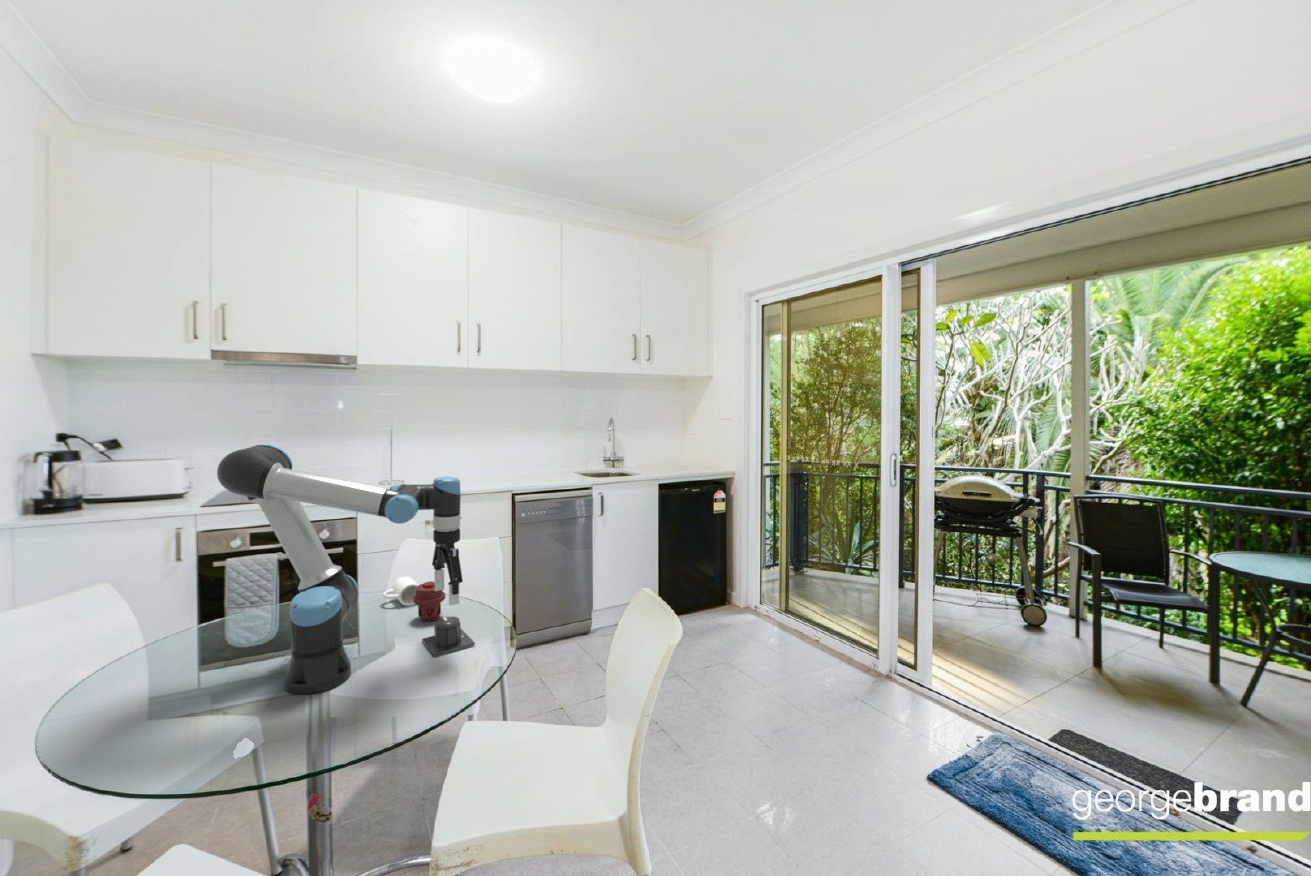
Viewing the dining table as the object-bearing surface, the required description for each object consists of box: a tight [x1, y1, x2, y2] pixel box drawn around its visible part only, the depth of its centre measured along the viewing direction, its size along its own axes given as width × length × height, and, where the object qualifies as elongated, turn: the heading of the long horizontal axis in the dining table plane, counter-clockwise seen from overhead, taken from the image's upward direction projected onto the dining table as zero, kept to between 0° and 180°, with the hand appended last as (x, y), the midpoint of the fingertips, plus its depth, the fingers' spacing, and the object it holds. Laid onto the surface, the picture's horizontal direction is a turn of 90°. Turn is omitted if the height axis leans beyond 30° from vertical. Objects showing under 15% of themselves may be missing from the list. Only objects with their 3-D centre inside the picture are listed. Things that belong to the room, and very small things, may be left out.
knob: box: [434, 616, 462, 646], centre depth 165 cm, size 7×7×6 cm
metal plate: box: [421, 628, 476, 658], centre depth 165 cm, size 12×12×5 cm
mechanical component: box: [413, 581, 446, 623], centre depth 183 cm, size 12×10×10 cm
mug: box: [382, 576, 420, 607], centre depth 196 cm, size 12×10×8 cm
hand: (446, 597), depth 164 cm, fingers open, 13 cm apart
